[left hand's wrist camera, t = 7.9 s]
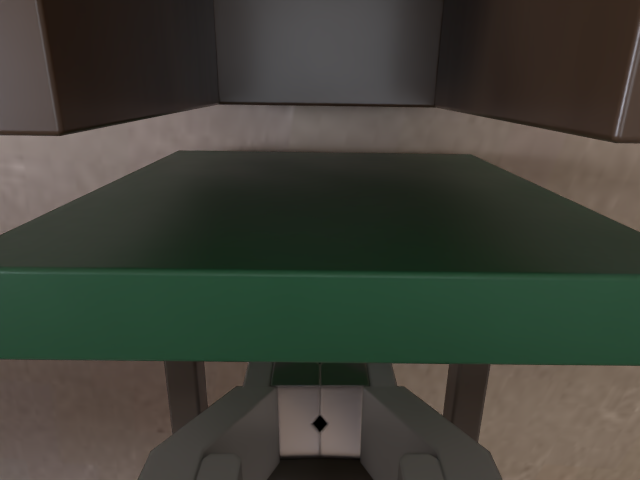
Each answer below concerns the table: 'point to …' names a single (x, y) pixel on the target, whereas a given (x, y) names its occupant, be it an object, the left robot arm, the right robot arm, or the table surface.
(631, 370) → the table surface
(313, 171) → the drawer
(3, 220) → the table surface
